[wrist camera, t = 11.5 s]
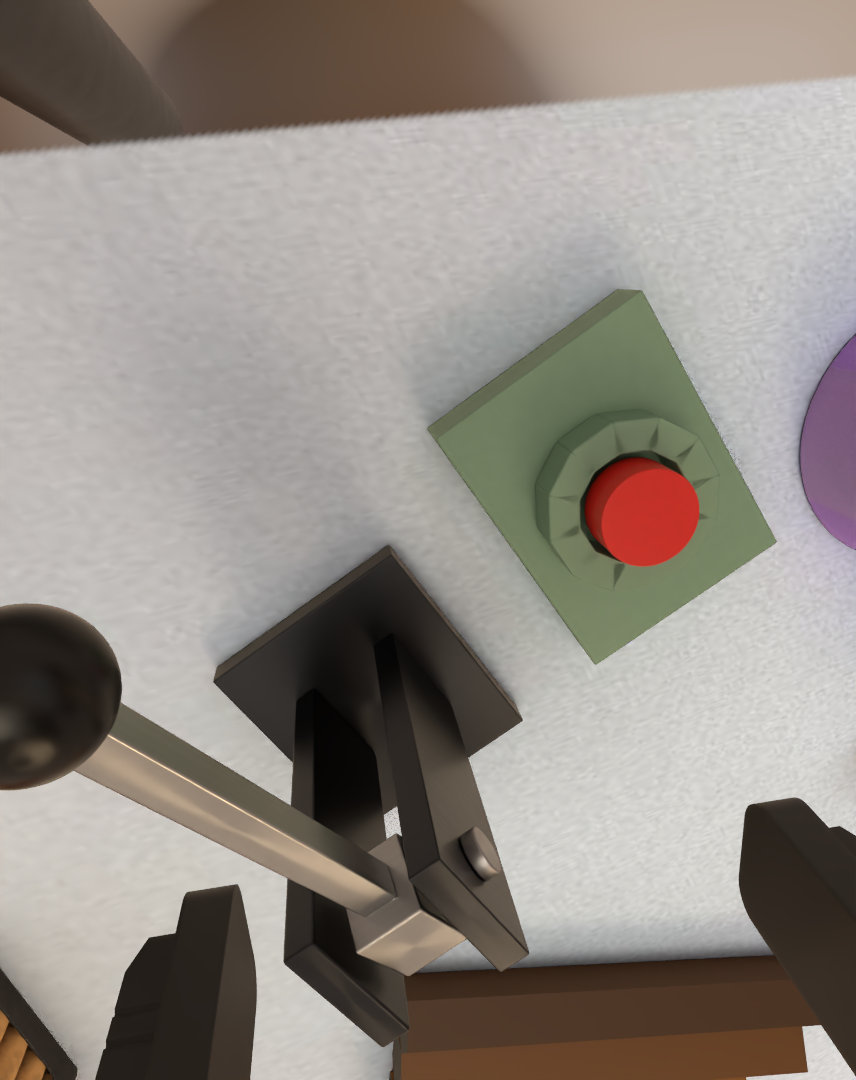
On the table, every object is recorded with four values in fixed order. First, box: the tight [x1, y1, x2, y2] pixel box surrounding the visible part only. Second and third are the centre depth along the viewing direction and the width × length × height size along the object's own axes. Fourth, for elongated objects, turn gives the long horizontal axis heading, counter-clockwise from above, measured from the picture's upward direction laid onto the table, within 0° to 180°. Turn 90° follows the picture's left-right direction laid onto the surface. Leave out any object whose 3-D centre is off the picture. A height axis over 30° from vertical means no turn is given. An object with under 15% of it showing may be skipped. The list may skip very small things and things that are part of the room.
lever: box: [0, 604, 467, 976], centre depth 17 cm, size 16×3×3 cm, turn 34°
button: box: [585, 457, 699, 567], centre depth 26 cm, size 4×4×2 cm
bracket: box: [213, 545, 529, 1047], centre depth 26 cm, size 10×9×14 cm
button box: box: [427, 289, 777, 665], centre depth 29 cm, size 12×9×4 cm
